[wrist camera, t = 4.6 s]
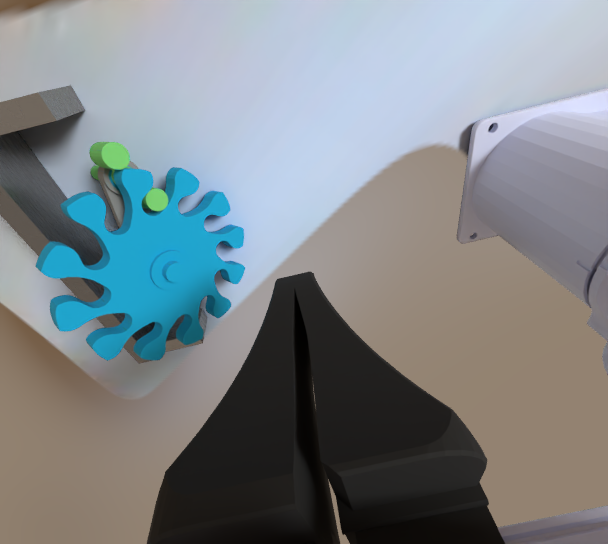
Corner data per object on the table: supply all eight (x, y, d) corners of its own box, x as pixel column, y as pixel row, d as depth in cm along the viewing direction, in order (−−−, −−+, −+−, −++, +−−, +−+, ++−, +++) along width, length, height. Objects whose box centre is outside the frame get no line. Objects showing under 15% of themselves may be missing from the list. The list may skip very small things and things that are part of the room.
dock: (70, 85, 13) (30, 94, 11) (207, 317, 23) (201, 349, 20) (-25, 109, 13) (-84, 124, 11) (151, 330, 23) (138, 363, 21)
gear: (263, 303, 21) (111, 410, 14) (212, 280, 24) (71, 357, 17) (230, 126, 15) (-44, 165, 9) (169, 128, 18) (-59, 158, 12)
